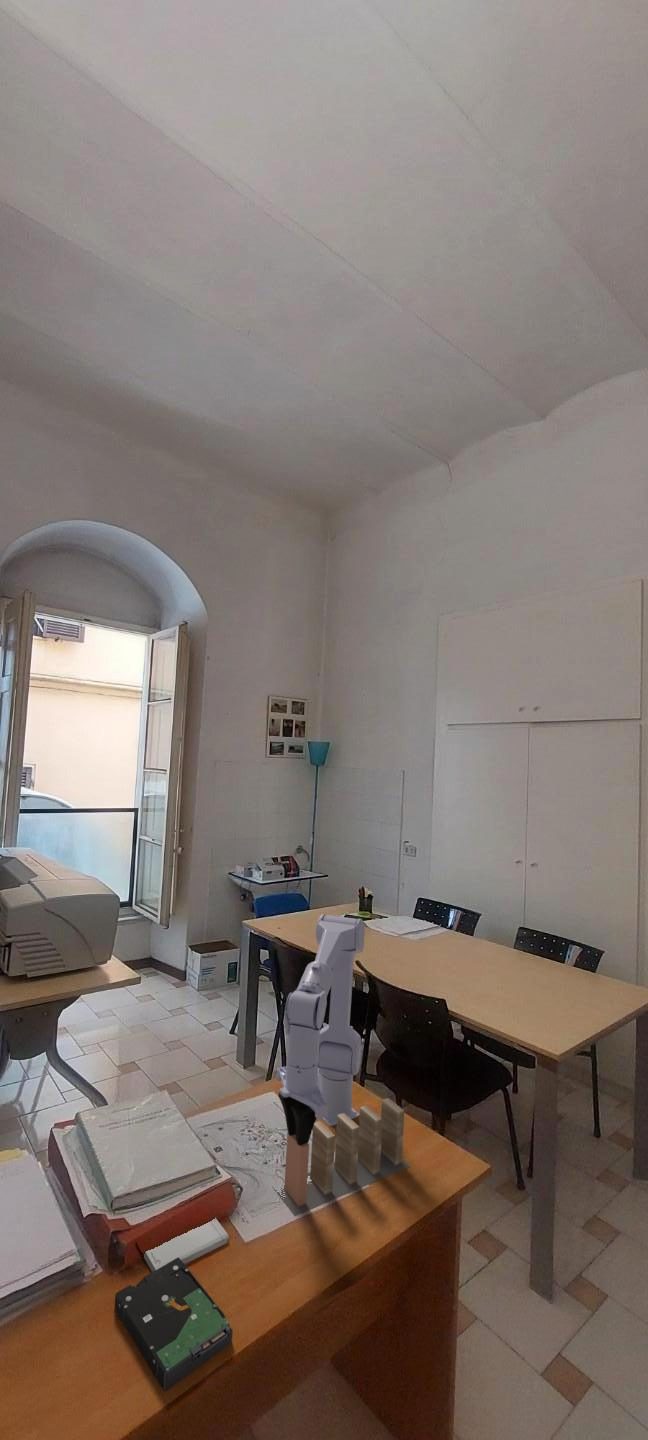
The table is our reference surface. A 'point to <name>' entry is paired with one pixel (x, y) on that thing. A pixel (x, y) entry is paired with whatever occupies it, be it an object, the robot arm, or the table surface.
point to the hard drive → (188, 1245)
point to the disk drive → (172, 1322)
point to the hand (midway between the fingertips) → (298, 1138)
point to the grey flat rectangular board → (341, 1185)
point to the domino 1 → (296, 1170)
